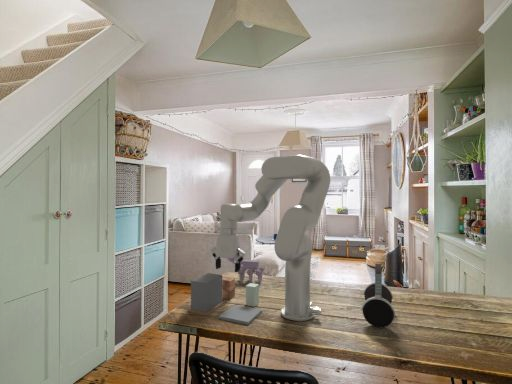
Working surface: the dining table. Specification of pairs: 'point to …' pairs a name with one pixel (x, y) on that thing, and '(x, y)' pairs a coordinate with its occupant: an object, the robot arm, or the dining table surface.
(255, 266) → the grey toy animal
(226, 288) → the terracotta block
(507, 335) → the dining table surface
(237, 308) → the mat
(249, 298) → the sage block
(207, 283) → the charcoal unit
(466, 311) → the dining table surface
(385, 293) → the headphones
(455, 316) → the dining table surface
